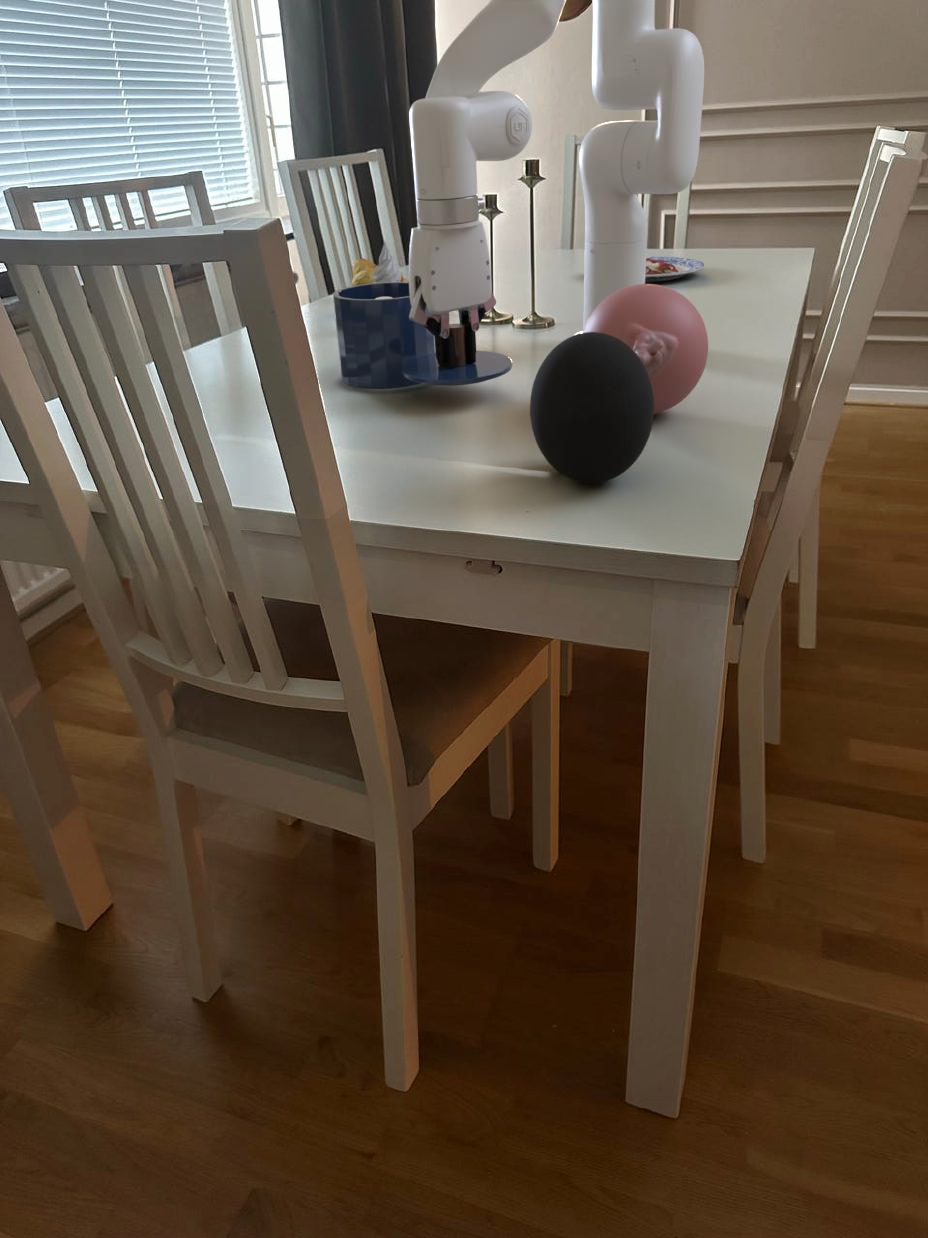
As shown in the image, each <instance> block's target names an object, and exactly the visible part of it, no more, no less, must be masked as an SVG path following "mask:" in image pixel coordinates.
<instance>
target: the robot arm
mask: <svg viewBox="0 0 928 1238" xmlns="http://www.w3.org/2000/svg"><path fill="white" fill-rule="evenodd" d="M591 2H592V33H591V34H592V35H591V36H592V39H591V40H592V41H591V89H592V95H593V98H594V101H595V103H596V104H597V105H598V106H600V107H601V108H603V109H606V110H609V111H610V110H611V111H644V110H646V111H647V110H656V114H657V120H618V121H617V120H616V121H608V122H604V123H601V124H598V125H596V126H594V127H593V128H591V130H588V132H587V133H586V135H585V136H584V137H583V140H582V141H581V144H580V148H579V153H578V165H579V166H578V167H579V173H580V180H581V185H582V192H583V201H584V254H583V255H584V256H583V257H584V265H583V312H582V314H583V317H582V318H583V319H582V330H581V331H579V332H576V333H575V334H574V335H577V334H581V333H582V332H583V329H584V327H585V324H586V322H587V320H588V319H589V317H590V315H591V314H592V312H593V311H594V310H595V309H596V307H597V306H598V305H599V304H600V303H601V302H602V301H603V300H605V299H606V298H607V297H609V296H610V295H611V294H613V293H615V292H617V291H619V290H621V289H623V288H626V287H629V286H633V285H638V284H646V282H645V273H646V257H647V253H648V251H647V250H648V232H649V231H648V227H649V226H648V219H647V216H646V212H645V210H644V207H643V206H642V204H641V202H640V199H639V198H638V195H674V194H678V193H681V192H683V191H685V190H686V189H687V188H688V187H689V186H690V185H691V183H692V181H693V179H694V177H695V174H696V172H697V167H698V162H699V153H700V141H701V128H702V116H703V101H704V89H705V87H704V86H705V59H704V52H703V49H702V45H701V43H700V41H699V39H698V38H697V36H696V35H695V34H694V33H693V32H691V30H688V29H685V28H680V27H679V28H678V27H676V28H660V29H656V27H655V26H656V24H655V17H656V13H655V12H656V11H655V9H656V4H655V3H656V0H592V1H591ZM566 3H567V0H490V1H488V3H487V4H486V5H485V6H484V7H483V8H481V10H480V11H479V12H478V13H477V14H476V15H475V16H474V17H473V18H472V20H471V21H470V22H469V23H468V24H467V25H466V26H465V27H464V29H463V30H462V31H461V32H460V33H459V34H458V35H457V37H455V39H454V40H453V41H452V42H451V43H450V45H449V46H448V47H447V48H446V50H445V51H444V53H443V54H442V56H441V58H440V60H439V61H438V63H437V65H436V68H435V70H434V73H433V74H432V77H431V81H430V84H429V86H428V89H427V92H426V95H425V98H420V99H417V100H416V101H414V102H413V103H411V105H410V108H409V130H410V141H411V153H412V169H413V181H414V194H415V209H416V220H417V226H416V227H415V226H414V227H412V228H411V231H410V232H411V234H410V241H409V250H408V251H409V252H408V281H409V293H410V302H411V306H412V308H411V311H410V315H409V319H410V320H411V321H413V322H416V323H418V324H421V325H423V326H424V327H426V328H427V329H428V330H429V331H430V333H431V334H432V335H434V336H435V350H436V359H437V361H438V365H440V366H443V367H446V368H449V369H452V368H454V367H455V355H454V340H453V337H450V336H449V324H450V313H451V312H456V311H458V320H459V324H464V325H465V341H466V359H467V362H468V363H471V364H472V363H475V362H476V351H477V338H476V337H477V332H478V331H479V329H480V323H481V322H482V320H483V319H484V317H485V316H486V313H488V312H490V311H491V310H492V309H493V308H494V307H495V306H496V305H497V300H496V297H495V295H494V292H493V291H492V269H491V261H490V252H489V246H488V239H487V236H486V232H485V231H486V230H485V228H484V224H483V222H482V221H480V211H481V210H483V209H485V206H486V203H485V200H484V198H483V197H479V194H478V173H477V172H478V171H477V162H503V161H508V160H510V159H513V158H514V157H516V156H518V155H519V154H521V152H522V151H523V150H525V148H526V147H527V145H528V143H529V141H530V139H531V135H532V131H533V120H532V115H531V110H530V109H529V107H528V105H527V103H526V102H525V101H524V100H523V99H522V98H521V97H520V96H518V95H517V94H515V93H512V92H509V91H504V90H489V91H481V89H482V88H483V87H484V86H485V85H486V84H487V82H488V81H489V80H490V79H491V78H493V76H495V75H496V74H497V73H499V72H500V71H501V70H503V69H504V68H506V67H507V66H508V65H510V64H512V63H514V62H516V61H518V60H519V59H522V58H523V57H525V56H527V55H528V54H530V53H531V52H533V51H534V50H536V49H537V48H539V47H540V46H542V45H544V44H545V43H547V42H548V41H549V39H551V37H552V36H553V35H554V34H555V32H556V30H557V27H558V26H559V25H558V24H559V22H560V19H561V16H562V13H563V11H564V7H565V4H566ZM425 309H427V310H428V311H429V312H430V317H429V316H427V315H425Z"/></svg>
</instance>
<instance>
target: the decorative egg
mask: <svg viewBox="0 0 928 1238" xmlns="http://www.w3.org/2000/svg"><path fill="white" fill-rule="evenodd" d="M529 400H530V401H529V417H530V418H529V419H530V426H531V430H532V433H533V437H534V439H535V443H536V444H537V447H538V449H539V451H540V452H541V454H542V455H543V457H544V458H545V460H546V461H547V463H548V464H549V465H550V466H551V467H552V468H553V469H554V470H555V471H556V472H557V473H559V474H560V475H562V476H563V477H565V478H567V479H570V480H571V481H575V482H577V483H583V484H600V483H605V482H608V481H611V480H613V479H615V478H617V477H619V476H621V475H623V474H624V473H625V472H626V471H627V470H629V469H630V468H631V467H632V466H633V465H634V464H635V463H636V461H637V460H639V458H640V456H641V455H642V453H643V451H644V450H645V447H646V446H647V443H648V441H649V438H650V435H651V433H652V429H653V424H654V417H655V414H654V396H653V390H652V386H651V382H650V378H649V376H648V373H647V371H646V368H645V366H644V365H643V363H642V361H641V360H640V358H639V357H638V356H637V354H636V353H635V352H634V351H633V350H632V349H631V348H630V347H629V346H628V345H627V344H625V343H624V342H623V341H621V340H620V339H618V338H616V337H614V336H611V335H608V334H604V333H600V332H586V333H581V334H577V335H575V334H573V335H572V336H569V337H567V338H566V339H564V340H562V341H561V342H560V343H558V344H557V345H556V346H555V347H554V348H552V350H551V351H550V352H549V353H548V354H547V356H546V357H545V358H544V359H543V361H542V363H541V364H540V367H539V368H538V370H537V372H536V374H535V378H534V380H533V384H532V388H531V393H530V399H529Z"/></svg>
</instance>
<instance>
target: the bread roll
mask: <svg viewBox="0 0 928 1238" xmlns="http://www.w3.org/2000/svg"><path fill="white" fill-rule="evenodd" d="M377 266H378V264H375V263H374V262H372V261H370V260H369V259H366V258H364V257H361V258H359V259H357V260H355V262H354V264H353V267H352V276H353V277H352V281H351V285H350V287H351V286H356V285H363V284H371V283H374V280H375V278H374V277H373V273H374V272H375V268H376V267H377ZM399 270H400V271H401V280H400V282H409V279H407V278H404V273H403V271H402V270H401V269H399Z"/></svg>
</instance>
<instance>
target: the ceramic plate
mask: <svg viewBox="0 0 928 1238" xmlns="http://www.w3.org/2000/svg"><path fill="white" fill-rule="evenodd" d="M705 268H706V263H705V262H703V261H701V260H697V259H693V258H687V257H677V256H646V273H645V283H656V282H667V281H673V280H676V279H680V278H682V277H684V276H686V275H688V274H692V273H696V272H699V271H700V272H701V271H702V270H703V269H705Z"/></svg>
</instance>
